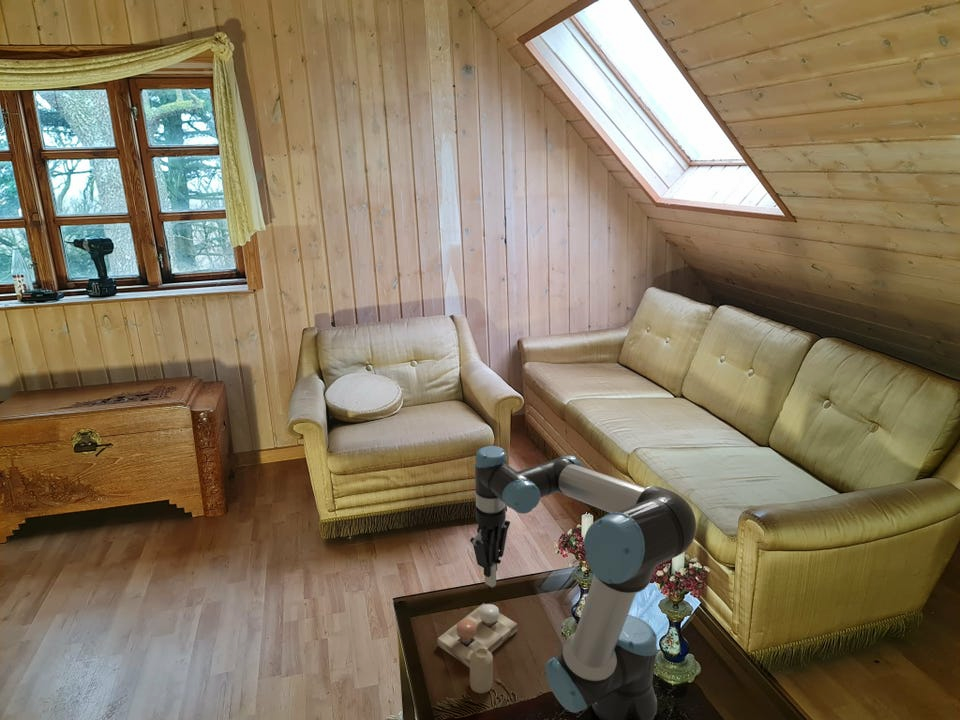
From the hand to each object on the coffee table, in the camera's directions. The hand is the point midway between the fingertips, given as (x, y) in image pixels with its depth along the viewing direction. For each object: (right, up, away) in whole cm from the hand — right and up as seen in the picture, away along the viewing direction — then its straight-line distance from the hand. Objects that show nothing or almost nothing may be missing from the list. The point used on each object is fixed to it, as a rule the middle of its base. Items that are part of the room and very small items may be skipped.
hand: (490, 583), depth 186 cm
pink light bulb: (-6, -14, -1) cm, 16 cm away
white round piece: (0, -13, +5) cm, 14 cm away
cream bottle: (-2, -21, -12) cm, 24 cm away
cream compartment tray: (-3, -15, +3) cm, 16 cm away
